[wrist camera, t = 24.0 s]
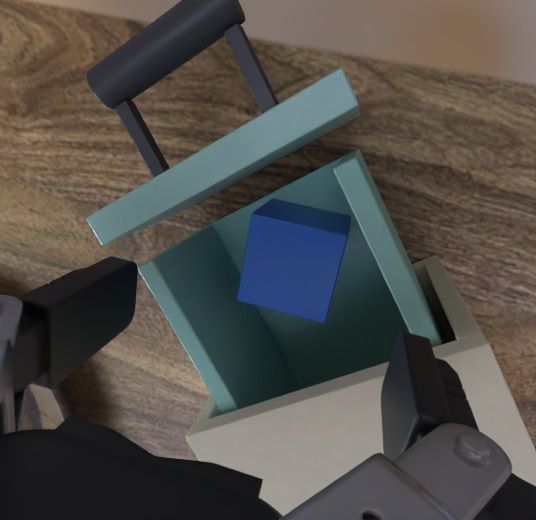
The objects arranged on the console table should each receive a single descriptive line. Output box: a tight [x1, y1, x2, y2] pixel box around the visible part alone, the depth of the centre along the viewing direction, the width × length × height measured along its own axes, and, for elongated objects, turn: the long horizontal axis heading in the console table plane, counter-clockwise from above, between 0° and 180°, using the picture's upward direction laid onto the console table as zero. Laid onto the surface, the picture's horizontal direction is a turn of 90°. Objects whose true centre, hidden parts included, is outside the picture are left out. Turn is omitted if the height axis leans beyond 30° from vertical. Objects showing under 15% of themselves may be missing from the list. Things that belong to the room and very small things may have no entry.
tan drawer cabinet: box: [185, 255, 536, 516], centre depth 20 cm, size 16×12×10 cm
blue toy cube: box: [237, 198, 351, 324], centre depth 19 cm, size 4×4×4 cm
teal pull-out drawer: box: [86, 0, 447, 414], centre depth 18 cm, size 19×10×8 cm, turn 28°
